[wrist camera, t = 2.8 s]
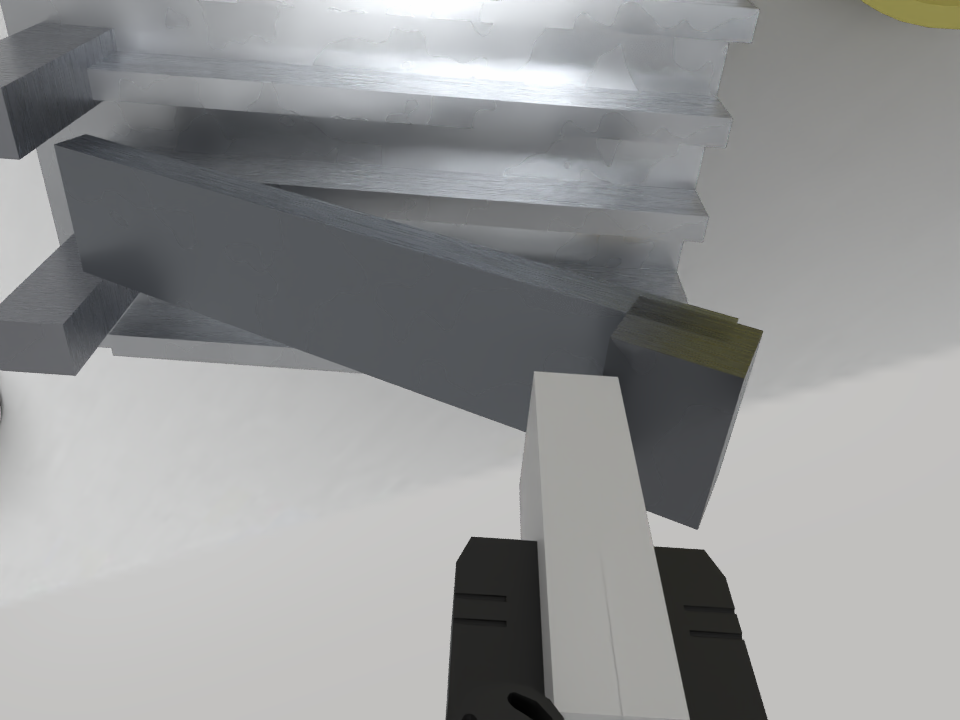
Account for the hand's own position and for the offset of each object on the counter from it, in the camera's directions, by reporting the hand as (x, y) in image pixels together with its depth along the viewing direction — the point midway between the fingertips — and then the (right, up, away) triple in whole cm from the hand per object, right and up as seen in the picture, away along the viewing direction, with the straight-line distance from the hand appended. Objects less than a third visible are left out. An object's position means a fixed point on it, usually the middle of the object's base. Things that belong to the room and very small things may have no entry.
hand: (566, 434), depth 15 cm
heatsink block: (-5, +10, +15) cm, 19 cm away
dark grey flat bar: (-4, +3, +4) cm, 7 cm away
